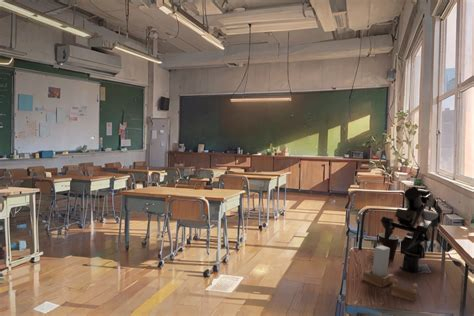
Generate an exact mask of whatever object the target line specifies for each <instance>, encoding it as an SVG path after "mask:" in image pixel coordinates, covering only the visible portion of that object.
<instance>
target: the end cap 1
mask: <svg viewBox="0 0 474 316" xmlns="http://www.w3.org/2000/svg"><path fill="white" fill-rule="evenodd" d="M372 271H373V268H372V269H368V270H366V271H364V272H363V276H362V281H365V282H367V283H370V284H371V285H374V286H376V287H379V288H384V287H386V286H388V285H390V284H393V283H394V274H392V273H389V274H387V275H386V276H384V277H379V276H376V275H374V274H372Z"/></svg>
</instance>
